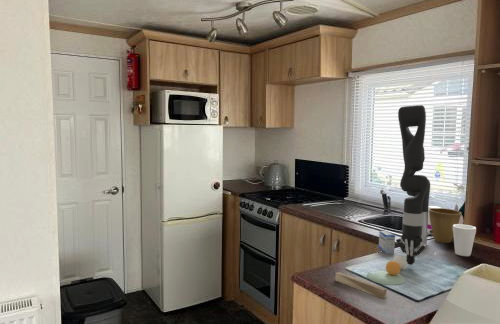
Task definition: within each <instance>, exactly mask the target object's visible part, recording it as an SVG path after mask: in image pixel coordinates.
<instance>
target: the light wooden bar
mask: <svg viewBox="0 0 500 324" xmlns="http://www.w3.org/2000/svg"><path fill="white" fill-rule="evenodd" d="M335 282H338V283H341V284H343V285H346V286H349V287H351V288H354V289H357V290H358V291H360V292H361V291H362V292H364V293H366V294H369V295H372V296H373V297H377V298H380V299H382V300H384V299H386V298H387V291H388V290H387V288H385V287H382V286H380V285H377V284H375V283H371V282H368V281H366V280H363V279H361V278H357V277H354V276H352V275H349V274H346V273H344V272H341V271H338V272H335Z"/></svg>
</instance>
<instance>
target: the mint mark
mask: <svg viewBox="0 0 500 324" xmlns="http://www.w3.org/2000/svg"><path fill="white" fill-rule="evenodd" d="M374 271H375V272H377V273H375V274H373V273H370V272H371V271H370V272H367V274H366V277H367V279H369V280H370V281H372V282H374V283H377V284H381V285H386V286H398V285H403V284H404V283H406V278H405V277H404V276H403V275H401V274H400V273H399V274H397V275H390V274H389V273H388V272H387V271H386V270H374Z"/></svg>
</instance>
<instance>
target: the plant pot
mask: <svg viewBox="0 0 500 324" xmlns="http://www.w3.org/2000/svg"><path fill="white" fill-rule="evenodd" d="M429 215H430V223H431V228H432V232H433V235H432V236H433V238H434V241H435V242H437V243H442V244H450V243H452V240H454V235H453V225H454V224H460V220H461V217H462V212H461V211H458V210H455V209H450V208H442V207H441V208H431V209H429Z"/></svg>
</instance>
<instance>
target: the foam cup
mask: <svg viewBox="0 0 500 324" xmlns="http://www.w3.org/2000/svg"><path fill="white" fill-rule="evenodd" d="M476 233H477V227H476V226H473V225H469V224H461V223H459V224H454V225H453V235H454V237H453V244H454V245H453V246H454V254H455V255H458V256H461V257H471V254H472V250H473V246H474V241H475V235H476Z"/></svg>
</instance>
